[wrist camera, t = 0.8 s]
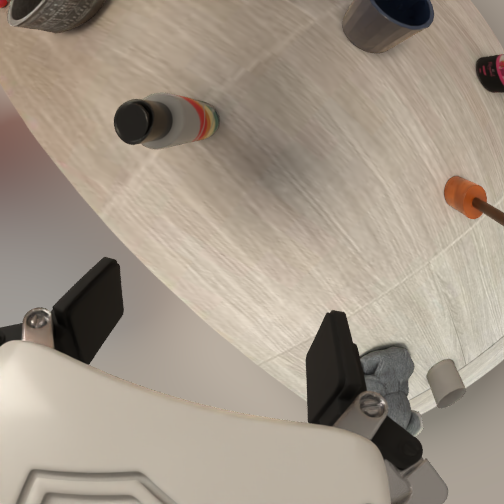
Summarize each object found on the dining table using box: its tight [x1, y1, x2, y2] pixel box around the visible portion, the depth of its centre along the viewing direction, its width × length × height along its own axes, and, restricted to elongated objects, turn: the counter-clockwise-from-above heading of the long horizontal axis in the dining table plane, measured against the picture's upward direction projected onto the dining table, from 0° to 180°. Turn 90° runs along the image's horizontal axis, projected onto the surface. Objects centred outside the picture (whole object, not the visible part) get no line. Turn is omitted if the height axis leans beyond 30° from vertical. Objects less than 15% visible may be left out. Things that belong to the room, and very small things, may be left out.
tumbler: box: [342, 0, 434, 53], centre depth 21 cm, size 8×8×13 cm
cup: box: [427, 359, 466, 408], centre depth 49 cm, size 8×8×10 cm
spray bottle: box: [114, 93, 219, 149], centre depth 27 cm, size 6×6×20 cm
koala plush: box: [360, 346, 423, 436], centre depth 45 cm, size 17×18×20 cm
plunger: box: [444, 176, 504, 226], centre depth 27 cm, size 5×5×18 cm
